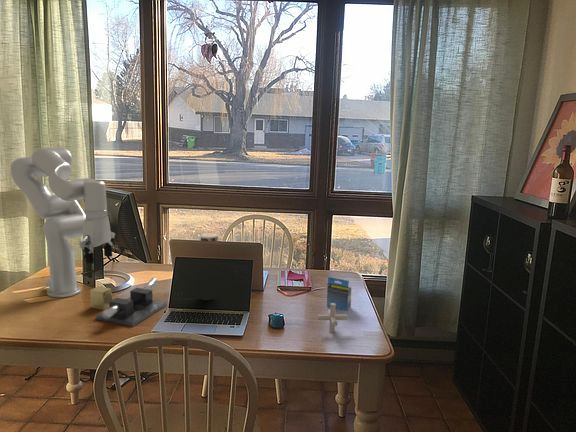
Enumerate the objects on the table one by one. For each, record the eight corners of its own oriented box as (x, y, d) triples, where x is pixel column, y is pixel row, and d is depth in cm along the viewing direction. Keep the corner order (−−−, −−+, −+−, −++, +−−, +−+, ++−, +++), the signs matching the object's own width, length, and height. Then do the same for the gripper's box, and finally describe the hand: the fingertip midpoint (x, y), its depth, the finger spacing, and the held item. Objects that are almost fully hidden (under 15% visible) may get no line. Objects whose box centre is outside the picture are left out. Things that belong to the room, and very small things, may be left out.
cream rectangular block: (104, 310, 177) (102, 292, 176) (91, 307, 179) (90, 290, 178) (112, 305, 181) (111, 288, 180) (99, 303, 183) (98, 286, 182)
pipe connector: (315, 325, 168) (316, 298, 166) (343, 324, 169) (344, 298, 167) (319, 337, 159) (320, 309, 156) (349, 337, 159) (350, 309, 157)
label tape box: (351, 307, 185) (352, 277, 182) (347, 311, 181) (348, 280, 179) (330, 303, 189) (331, 273, 186) (326, 306, 185) (327, 276, 183)
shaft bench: (87, 323, 165) (85, 299, 164) (139, 295, 192) (138, 274, 190) (125, 331, 160) (124, 306, 158) (173, 301, 187) (172, 279, 185)
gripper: (104, 209, 182) (107, 252, 186) (70, 218, 166) (73, 264, 170) (120, 211, 180) (123, 254, 183) (87, 219, 164) (90, 267, 167)
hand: (99, 259), depth 176 cm, fingers open, 9 cm apart
